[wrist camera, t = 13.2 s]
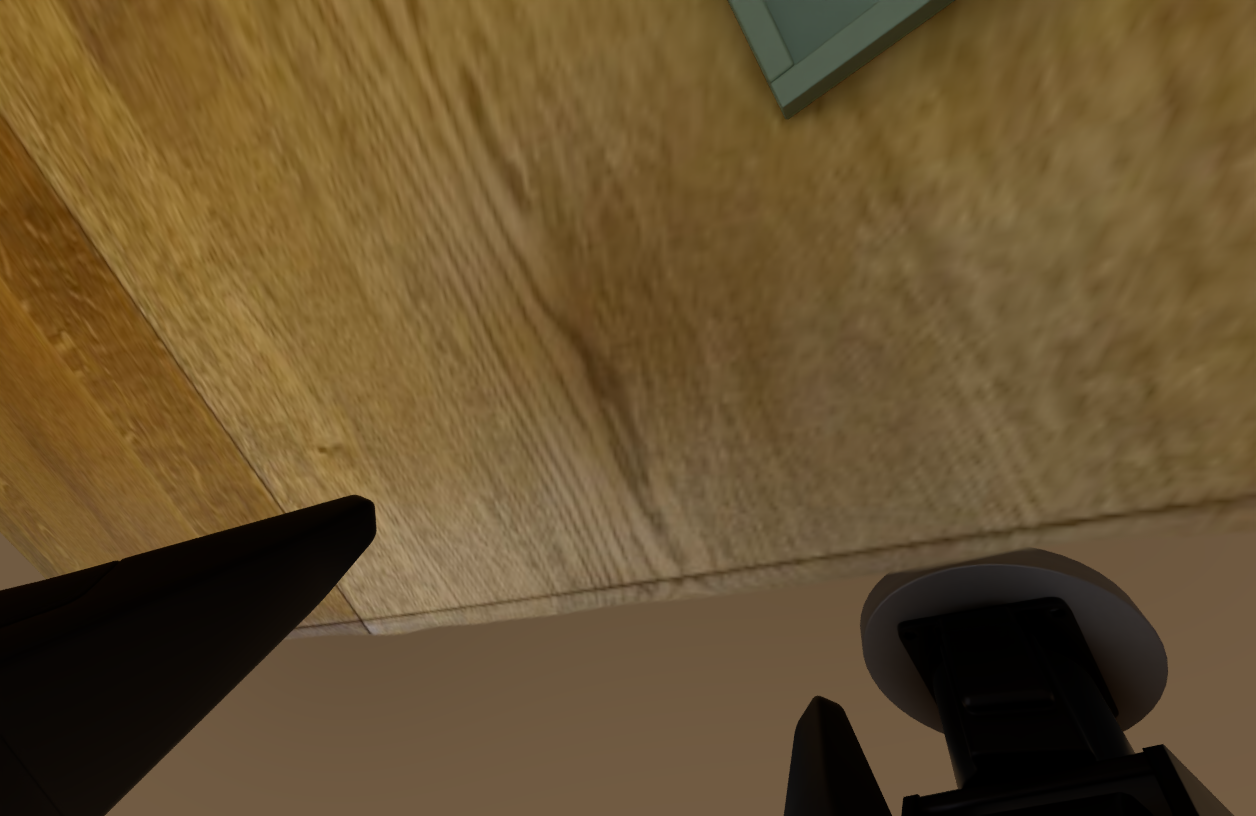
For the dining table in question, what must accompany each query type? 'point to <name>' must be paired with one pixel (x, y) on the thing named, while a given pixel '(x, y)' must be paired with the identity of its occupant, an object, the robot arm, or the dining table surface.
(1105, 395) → the dining table surface
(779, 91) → the tray
